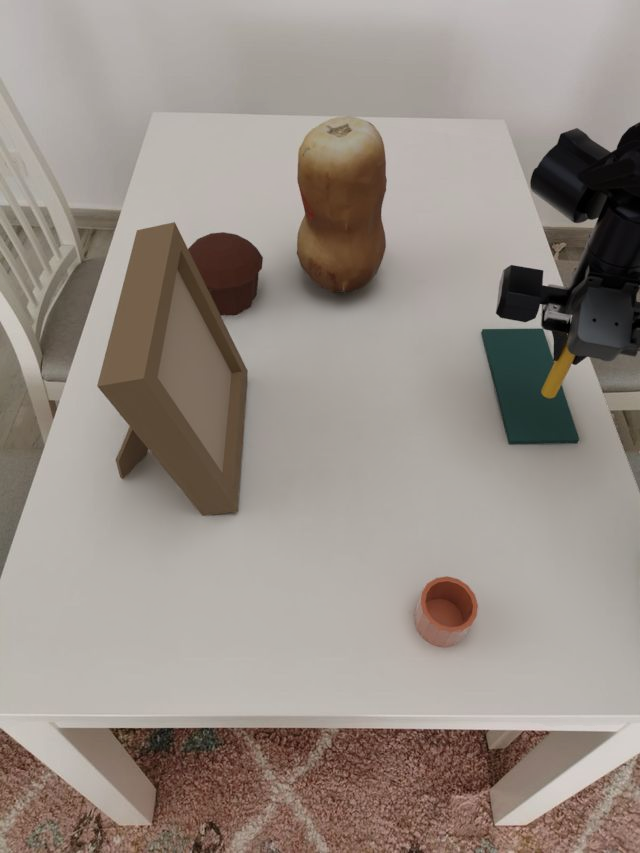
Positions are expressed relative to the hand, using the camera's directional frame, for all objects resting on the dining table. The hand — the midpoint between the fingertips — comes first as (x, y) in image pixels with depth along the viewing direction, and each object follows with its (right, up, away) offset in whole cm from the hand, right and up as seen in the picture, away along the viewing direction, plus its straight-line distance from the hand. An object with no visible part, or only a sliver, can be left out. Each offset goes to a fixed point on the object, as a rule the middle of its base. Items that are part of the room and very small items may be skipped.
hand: (564, 360), depth 71 cm
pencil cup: (-15, -28, -5) cm, 33 cm away
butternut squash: (-25, +15, +27) cm, 40 cm away
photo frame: (-45, -9, +9) cm, 47 cm away
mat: (+1, -2, +15) cm, 15 cm away
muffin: (-42, +12, +25) cm, 51 cm away
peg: (0, -3, +5) cm, 6 cm away
